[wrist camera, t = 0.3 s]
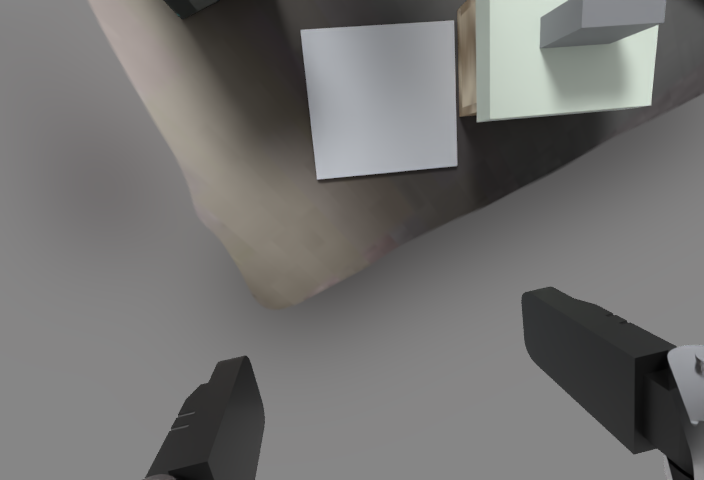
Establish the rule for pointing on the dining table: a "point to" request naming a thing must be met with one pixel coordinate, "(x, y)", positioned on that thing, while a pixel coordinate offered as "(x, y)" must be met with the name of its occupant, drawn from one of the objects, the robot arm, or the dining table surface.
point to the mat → (381, 97)
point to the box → (467, 58)
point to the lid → (564, 56)
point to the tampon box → (188, 6)
